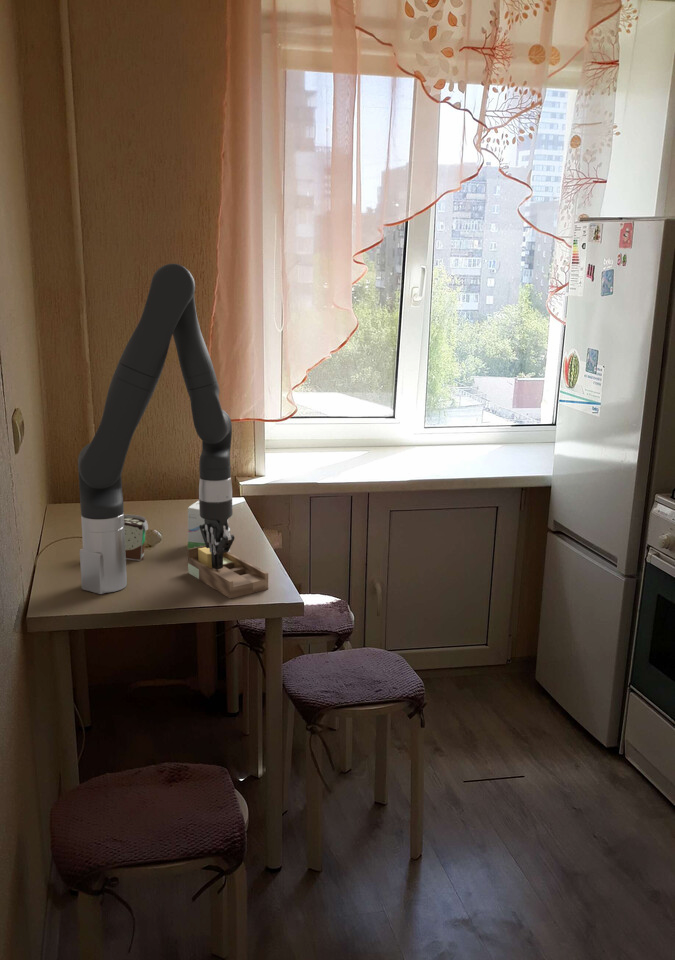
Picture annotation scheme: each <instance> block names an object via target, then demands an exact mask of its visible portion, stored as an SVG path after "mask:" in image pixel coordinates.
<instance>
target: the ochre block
mask: <svg viewBox="0 0 675 960" xmlns="http://www.w3.org/2000/svg"><path fill="white" fill-rule="evenodd" d="M198 561H199V562H201V563H202V564H204V565H206V566H208V567H209V568H212V554H211V553H210V550H209V548H206V547H204V548H198Z"/></svg>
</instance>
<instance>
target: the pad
mask: <svg viewBox="0 0 675 960" xmlns="http://www.w3.org/2000/svg"><path fill="white" fill-rule="evenodd" d="M231 562H232V561H230V560H228V559H226V558H225V557H223V564H226V563H231ZM187 572H188V574H189V575H191V576H193V577H195V578H196V579H198V580H199V569H197V568H196V567H194V566H192V565H191V564H189V563H188V562H187Z"/></svg>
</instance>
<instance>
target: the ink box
mask: <svg viewBox="0 0 675 960" xmlns="http://www.w3.org/2000/svg"><path fill="white" fill-rule="evenodd" d="M204 520H205V519H203V518H201V517H200V509H199V500H197V501H196V502H194V503H192V504H191V505H190V506H188V508H187V550H188V549H190V548H195V547H200V546H205V542H204V539H203V536H202V534H201V531H200V527H199V526H200V525H203V524H204V523H205V522H204Z"/></svg>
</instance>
